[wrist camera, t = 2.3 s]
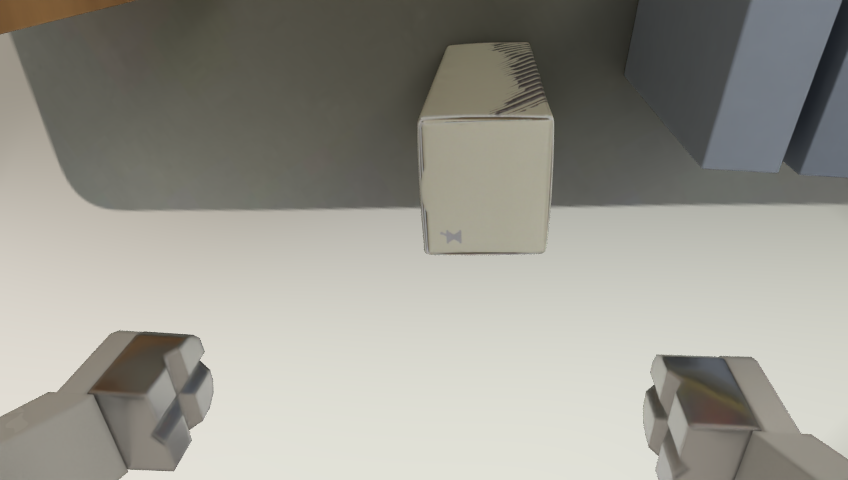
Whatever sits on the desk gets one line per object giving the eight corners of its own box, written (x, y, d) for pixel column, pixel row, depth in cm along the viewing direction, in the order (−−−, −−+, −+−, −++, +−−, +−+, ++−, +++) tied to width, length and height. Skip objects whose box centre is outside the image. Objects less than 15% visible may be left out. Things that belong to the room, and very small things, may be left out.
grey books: (623, 76, 28) (700, 169, 18) (650, -60, 25) (762, -40, 15) (797, 84, 28) (981, 186, 17) (846, -54, 25) (1105, -29, 14)
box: (527, 136, 30) (550, 265, 19) (446, 138, 31) (422, 264, 20) (531, 34, 28) (560, 114, 17) (442, 37, 28) (412, 118, 17)
